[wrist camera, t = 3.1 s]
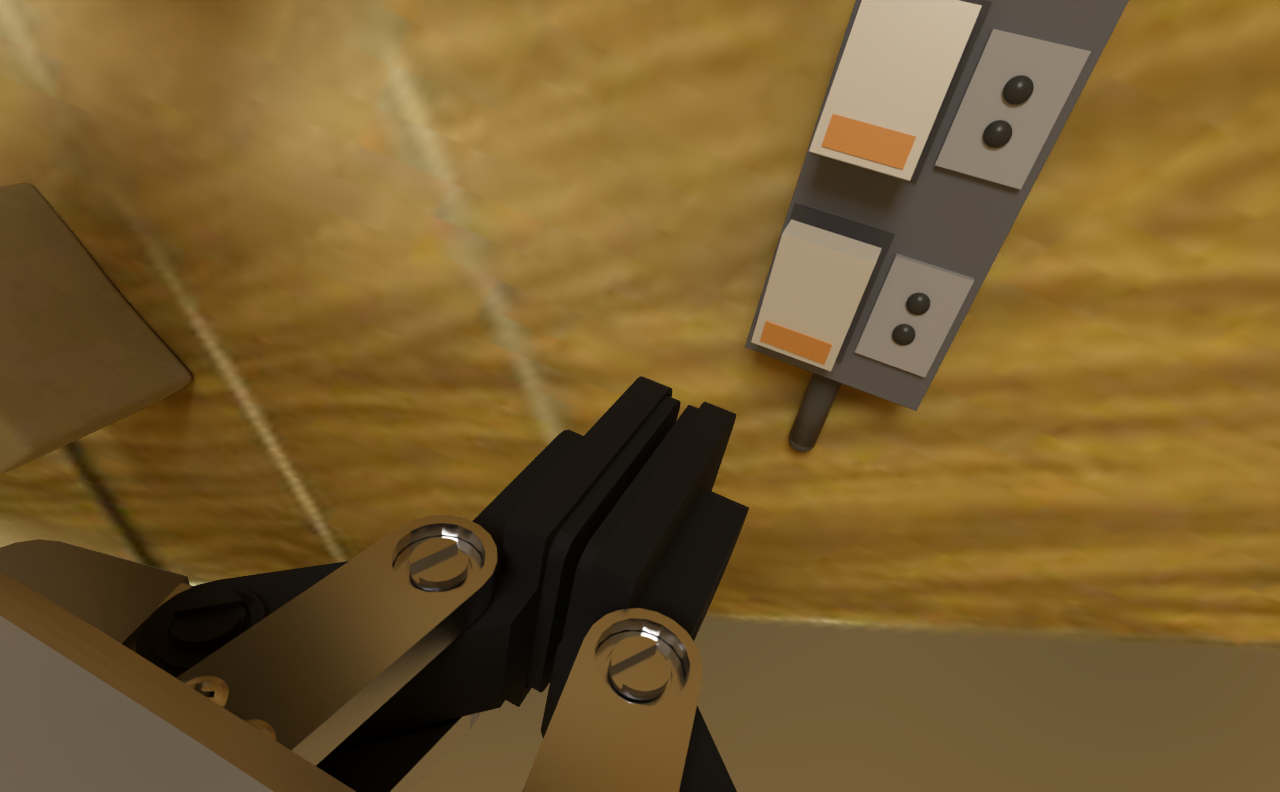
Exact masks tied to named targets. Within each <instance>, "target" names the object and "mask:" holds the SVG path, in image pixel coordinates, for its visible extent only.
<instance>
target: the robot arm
mask: <svg viewBox="0 0 1280 792" xmlns="http://www.w3.org/2000/svg"><path fill="white" fill-rule="evenodd" d="M671 397H672V388H670V387H667V386H665V385H662V384H660V383H657V382H655V381H652V380H650V379H647V378H645V377H639V378H638V379H636V381H635V382H634V383H633V384H632V385H631V386H630V387H629V388H628V389H627V390H626V391H625V392H624V393H623V395H622V396H621V397H620V398H619V399H618V400H617V401H616V402H615V403H614V404H613V405H612V406H611V407H610V409H609V410H608V411H607V412H606V413H605V414H604V415H603V416H602V417H601V418H600V419H599V420H598V421H597V423H596V424H595V425H594V426H593V427H592V428H591V429H590V430H589V431H588V432H587V433H586V434H585V435H584V436H582V435H580V434H578V433H575V432H573V431H571V430H564V431H563V432H562V433H560V434H559V435H558V436H557V437H556V438H555V439H554V440H553V441H552V442H551V443H550V444H549V445H548V446H547V447H546V448H545V449H544V450H543V451H542V452H541V453H540V454H539V455H538V456H537V457H536V458H535V459H534V460H533V461H532V462H531V463H530V464H529V465H528V466H527V467H526V468H525V469H524V470H523V471H522V472H521V473H520V474H519V475H518V476H517V477H516V478H515V479H514V480H513V481H512V482H511V483H510V484H509V485H508V486H507V487H506V488H505V489H504V490H503V491H502V492H501V493H500V494H499V495H498V496H497V497H496V498H495V499H494V500H493V501H492V502H491V503H490V504H489V505H488V506H487V507H486V508H485V509H484V510H483V511H482V512H481V513H480V514H479V515H478V516H477V517H476V518H475V519H474V520H473V521H470V520H468V519H466V518H461V517H456V516H452V515H431V516H427V517H423V518H419V519H415V520H413V521H411V522H409V523H407V524H405V525H403V526H401V527H399V528H398V529H396V530H395V531H393V532H392V533H390V534H389V535H387V536H386V537H384V538H383V539H381V540H380V541H378V542H377V543H375V544H374V545H372V546H371V547H369V548H368V549H366V550H365V551H363V552H362V553H360V554H359V555H358V556H356V557H355V558H353V559H352V560H350V561H347V562H340V563H333V564H326V565H319V566H312V567H305V568H298V569H291V570H284V571H277V572H270V573H263V574H257V575H250V576H243V577H236V578H229V579H222V580H216V581H212V582H208V583H204V584H200V585H196V586H191V585H190V584H189V580H188V577H187V576H184V575H180V574H177V573H173V572H169V571H166V570H162V569H158V568H155V567H151V566H147V565H144V564H140V563H136V562H133V561H129V560H125V559H122V558H118V557H114V556H111V555H107V554H103V553H100V552H96V551H92V550H89V549H85V548H81V547H78V546H74V545H70V544H67V543H63V542H59V541H50V540H40V539H39V540H31V541H24V542H17V543H13V544H10V545H7V546H4V547H1V548H0V792H412V791H413V790H414V789H415V788H416V786H417V785H418V784H419V783H420V782H421V781H422V780H423V779H424V778H425V777H426V776H427V775H428V774H429V773H430V771H431V770H432V769H433V768H434V767H435V766H436V765H437V764H438V763H439V762H440V761H441V759H443V758H444V756H445V755H446V754H447V753H448V752H449V751H450V750H451V749H452V748H453V747H454V746H455V744H457V742H458V741H459V740H460V739H461V738H462V737H463V736H464V735H465V734H466V733H467V732H468V731H469V730H470V728H471V727H472V725H473V724H474V722H475V721H476V719H477V718H478V716H479V713H480V712H483V711H487V710H491V709H495V708H499V707H501V705H502V704H503V702H504V701H505V700H507V701H509V702H511V703H512V704H514V705H516V706H518V707H519V706H520V705H521V703H522V701H523V700H524V698H525V697H526V695H527V694H528V692H529V691H530V689H531V688H534V689H535V690H537V691H539V692H543V691H544V690H545V688H546V687H547V686H548V684H549V683H550V686H549V691H548V696H547V701H546V706H545V712H544V717H543V722H542V727H541V732H542V737H543V741H542V743H541V746H540V748H539V751H538V753H537V756H536V758H535V761H534V763H533V766H532V768H531V771H530V773H529V776H528V778H527V780H526V783H525V785H524V788H523V790H522V792H737V791H736V789H735V787H734V785H733V782H732V780H731V778H730V776H729V774H728V771H727V769H726V767H725V765H724V763H723V761H722V758H721V756H720V754H719V752H718V750H717V748H716V745H715V743H714V741H713V739H712V737H711V735H710V732H709V730H708V728H707V726H706V724H705V721H704V719H703V717H702V715H701V713H700V711H699V708H698V706H697V703H698V698H699V693H700V688H701V684H702V665H703V663H702V660H701V657H700V654H699V651H698V647H697V646H696V644H695V643H694V640H695V638H696V635H697V633H698V631H699V628H700V626H701V624H702V622H703V619H704V617H705V615H706V613H707V610H708V608H709V606H710V604H711V601H712V599H713V597H714V595H715V592H716V590H717V588H718V585H719V583H720V581H721V578H722V576H723V574H724V571H725V569H726V566H727V564H728V562H729V559H730V557H731V554H732V552H733V549H734V547H735V544H736V542H737V539H738V536H739V534H740V531H741V529H742V526H743V523H744V521H745V518H746V515H747V513H748V510H749V507H746V506H744V505H742V504H739V503H737V502H735V501H732V500H730V499H728V498H725V497H723V496H721V495H719V494H716V493H714V492H712V488H713V485H714V482H715V479H716V476H717V473H718V470H719V467H720V464H721V461H722V458H723V455H724V452H725V449H726V446H727V443H728V440H729V437H730V434H731V431H732V428H733V425H734V422H735V419H736V414H735V413H732V412H730V411H727V410H725V409H722V408H720V407H717V406H715V405H712V404H710V403H707V402H703V404H702V405H701V406H700V408H699V409H698V408H696V407H693V406H691V405H688V406H687V408H686V409H685V410H684V412H683V413H682V414H681V416H680V417H679V419H678V420H677V416H678V413H679V409H680V401H679V400H676V399H674V398H671ZM676 420H677V421H676Z"/></svg>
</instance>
